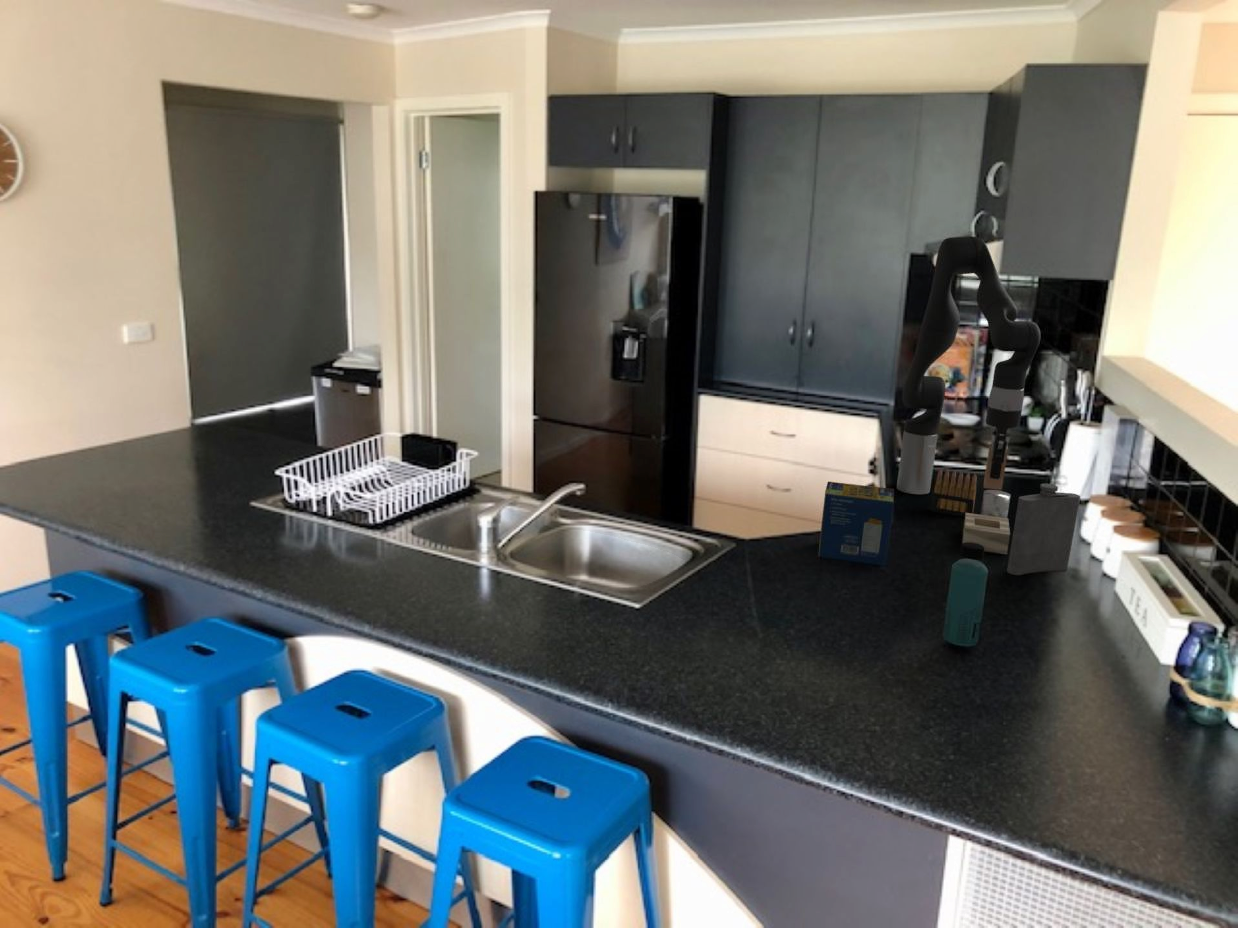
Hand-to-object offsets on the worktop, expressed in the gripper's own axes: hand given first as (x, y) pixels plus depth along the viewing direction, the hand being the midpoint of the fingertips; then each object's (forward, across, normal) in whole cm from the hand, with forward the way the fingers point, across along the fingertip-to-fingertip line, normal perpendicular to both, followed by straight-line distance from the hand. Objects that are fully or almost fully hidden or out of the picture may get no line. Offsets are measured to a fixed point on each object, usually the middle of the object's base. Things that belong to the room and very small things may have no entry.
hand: (994, 475), depth 229 cm
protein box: (+17, +23, -29) cm, 41 cm away
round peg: (+17, -14, +2) cm, 22 cm away
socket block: (+17, 0, 0) cm, 17 cm away
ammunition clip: (+17, -21, -8) cm, 28 cm away
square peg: (+3, 0, 0) cm, 3 cm away
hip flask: (+17, +14, +11) cm, 25 cm away
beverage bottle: (+17, +64, -5) cm, 66 cm away
